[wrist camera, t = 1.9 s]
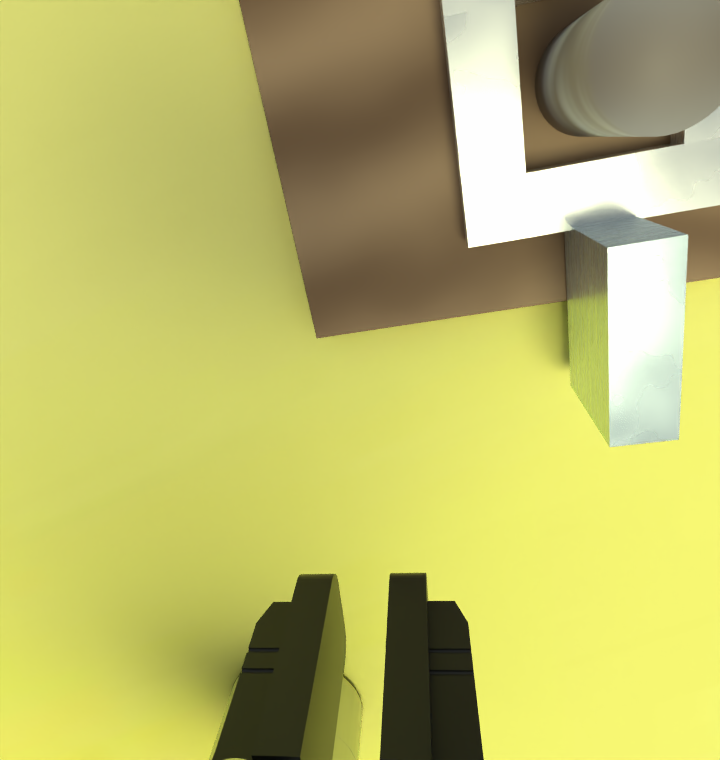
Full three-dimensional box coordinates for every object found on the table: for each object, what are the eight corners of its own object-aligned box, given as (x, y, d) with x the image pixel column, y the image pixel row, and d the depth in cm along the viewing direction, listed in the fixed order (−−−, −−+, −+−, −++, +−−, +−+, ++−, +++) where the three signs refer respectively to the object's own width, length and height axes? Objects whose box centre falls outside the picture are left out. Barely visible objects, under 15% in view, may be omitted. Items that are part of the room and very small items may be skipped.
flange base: (896, 242, 23) (1128, 292, 16) (320, 330, 27) (285, 404, 19) (1005, -325, 16) (1498, -709, 9) (223, -101, 20) (113, -239, 13)
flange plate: (433, -57, 19) (440, -125, 14) (758, -140, 17) (897, -251, 12) (482, 396, 26) (499, 459, 21) (720, 366, 24) (800, 425, 19)
